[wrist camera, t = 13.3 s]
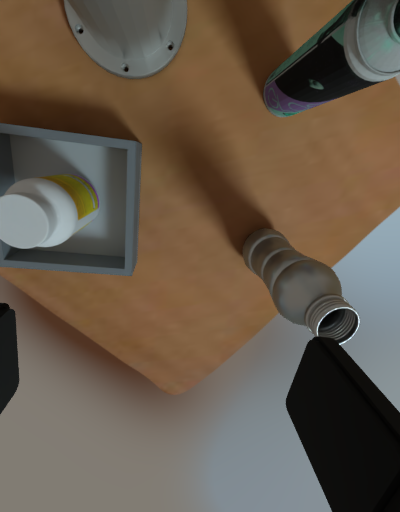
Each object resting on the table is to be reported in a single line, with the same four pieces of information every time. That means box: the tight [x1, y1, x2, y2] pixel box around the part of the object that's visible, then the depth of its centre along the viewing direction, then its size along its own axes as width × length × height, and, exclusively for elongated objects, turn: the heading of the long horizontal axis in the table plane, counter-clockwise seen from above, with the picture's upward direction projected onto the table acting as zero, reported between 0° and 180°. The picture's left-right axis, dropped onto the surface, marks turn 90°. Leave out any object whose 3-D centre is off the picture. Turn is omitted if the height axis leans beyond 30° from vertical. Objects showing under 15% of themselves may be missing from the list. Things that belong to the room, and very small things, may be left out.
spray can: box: [263, 0, 400, 117], centre depth 23 cm, size 6×6×20 cm
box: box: [0, 123, 142, 276], centre depth 32 cm, size 16×16×5 cm
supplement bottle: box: [0, 174, 100, 249], centre depth 28 cm, size 7×7×13 cm
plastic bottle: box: [243, 229, 360, 345], centre depth 30 cm, size 6×7×20 cm
